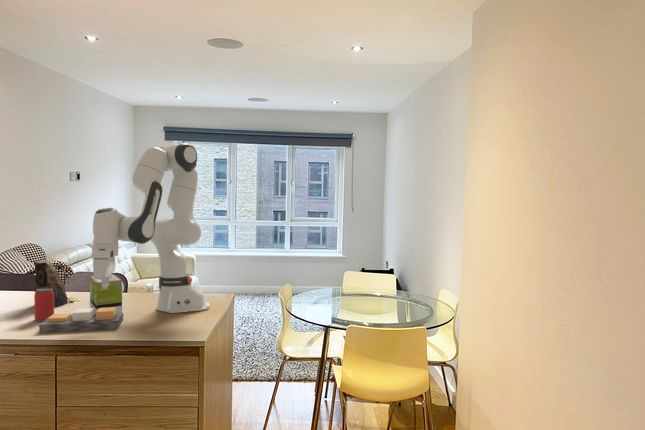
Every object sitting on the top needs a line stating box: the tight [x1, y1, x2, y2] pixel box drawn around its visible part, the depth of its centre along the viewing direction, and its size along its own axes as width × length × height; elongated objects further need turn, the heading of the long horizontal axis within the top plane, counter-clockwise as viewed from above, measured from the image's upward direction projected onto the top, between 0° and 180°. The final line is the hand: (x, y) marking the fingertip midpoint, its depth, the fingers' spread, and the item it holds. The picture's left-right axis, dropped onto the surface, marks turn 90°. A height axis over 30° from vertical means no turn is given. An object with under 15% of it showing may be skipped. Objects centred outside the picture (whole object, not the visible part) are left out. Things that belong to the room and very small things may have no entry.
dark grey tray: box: [38, 312, 124, 334], centre depth 175 cm, size 26×12×3 cm, turn 104°
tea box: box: [89, 273, 123, 314], centre depth 195 cm, size 15×10×15 cm
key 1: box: [48, 312, 72, 322], centre depth 173 cm, size 6×6×3 cm
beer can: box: [33, 288, 55, 322], centre depth 183 cm, size 7×7×12 cm
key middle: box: [71, 307, 94, 321], centre depth 175 cm, size 6×6×3 cm
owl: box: [33, 259, 69, 309], centre depth 204 cm, size 13×13×20 cm
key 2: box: [96, 307, 116, 320], centre depth 177 cm, size 6×6×3 cm
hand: (105, 287), depth 176 cm, fingers closed
